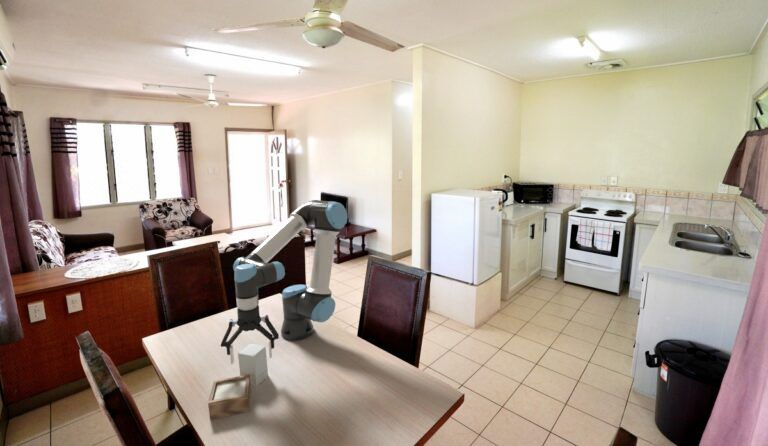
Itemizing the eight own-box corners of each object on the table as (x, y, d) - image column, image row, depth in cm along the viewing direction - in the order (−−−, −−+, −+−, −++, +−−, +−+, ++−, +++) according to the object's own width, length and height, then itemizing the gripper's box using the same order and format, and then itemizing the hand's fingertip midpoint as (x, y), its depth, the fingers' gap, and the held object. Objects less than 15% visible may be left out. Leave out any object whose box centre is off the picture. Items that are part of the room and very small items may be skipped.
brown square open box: (251, 389, 132) (249, 374, 131) (249, 411, 121) (247, 395, 120) (215, 396, 129) (213, 380, 127) (210, 419, 117) (207, 402, 116)
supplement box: (268, 375, 140) (266, 346, 138) (256, 387, 133) (253, 356, 131) (253, 371, 143) (250, 342, 140) (240, 383, 136) (237, 352, 133)
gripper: (283, 298, 139) (285, 348, 143) (212, 306, 132) (217, 358, 136) (283, 306, 132) (286, 358, 136) (209, 314, 125) (214, 370, 129)
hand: (251, 359), depth 136 cm, fingers open, 13 cm apart
